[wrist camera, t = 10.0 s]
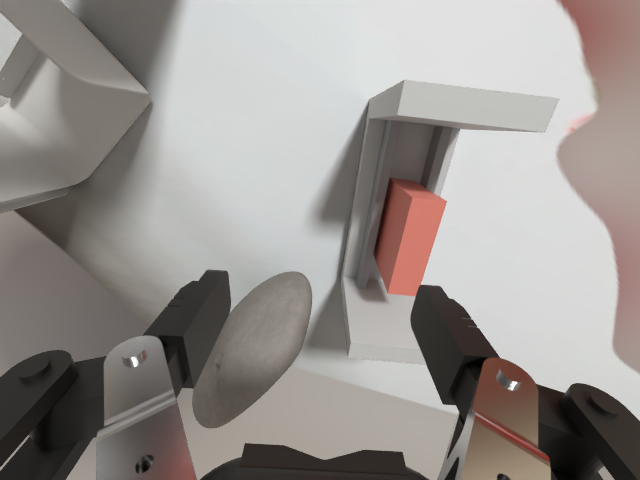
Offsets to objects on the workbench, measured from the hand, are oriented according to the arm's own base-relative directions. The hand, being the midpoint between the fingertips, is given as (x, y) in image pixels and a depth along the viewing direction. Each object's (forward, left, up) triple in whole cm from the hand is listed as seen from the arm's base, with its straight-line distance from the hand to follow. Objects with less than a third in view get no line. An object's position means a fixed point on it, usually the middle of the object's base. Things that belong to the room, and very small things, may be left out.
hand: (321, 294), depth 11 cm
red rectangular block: (+3, +9, -22) cm, 24 cm away
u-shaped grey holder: (+2, +9, -24) cm, 26 cm away
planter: (+17, -6, -24) cm, 30 cm away
